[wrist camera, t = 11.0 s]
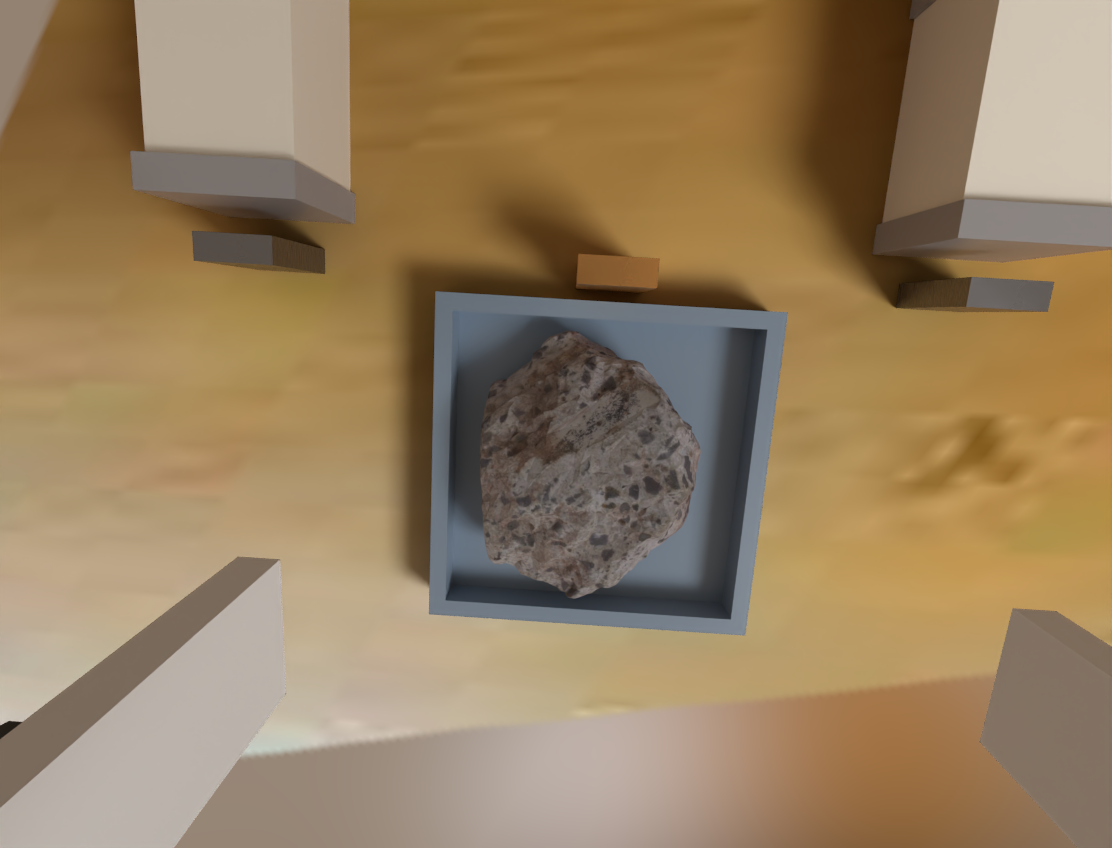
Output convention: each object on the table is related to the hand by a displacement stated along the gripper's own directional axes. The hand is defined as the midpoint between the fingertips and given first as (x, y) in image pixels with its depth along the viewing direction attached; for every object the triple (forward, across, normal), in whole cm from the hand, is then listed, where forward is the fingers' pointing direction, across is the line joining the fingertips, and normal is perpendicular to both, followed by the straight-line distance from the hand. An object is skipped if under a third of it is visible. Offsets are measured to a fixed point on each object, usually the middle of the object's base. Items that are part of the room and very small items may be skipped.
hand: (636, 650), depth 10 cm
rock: (+15, -1, -1) cm, 15 cm away
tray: (+16, 0, -1) cm, 16 cm away
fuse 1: (+16, -14, +14) cm, 25 cm away
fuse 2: (+16, +14, +14) cm, 25 cm away
